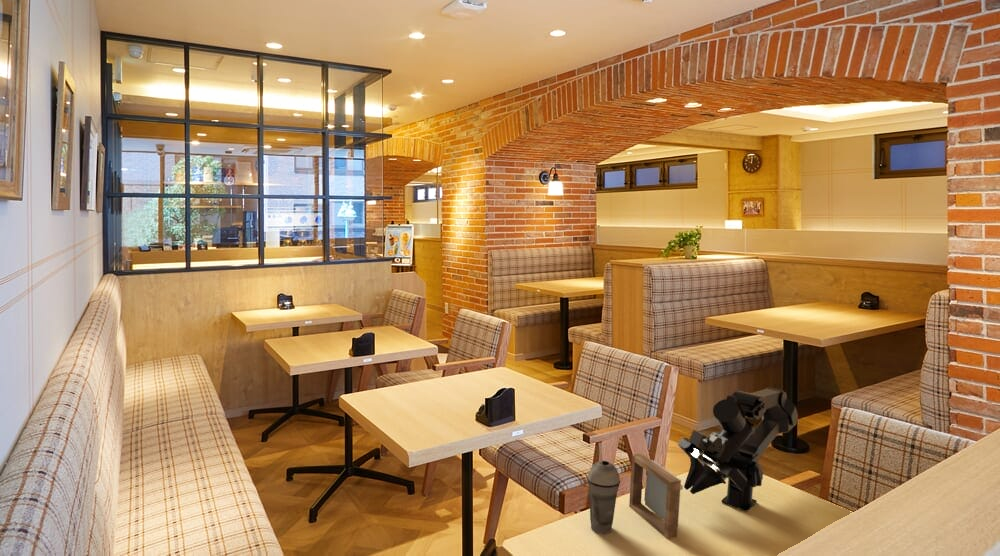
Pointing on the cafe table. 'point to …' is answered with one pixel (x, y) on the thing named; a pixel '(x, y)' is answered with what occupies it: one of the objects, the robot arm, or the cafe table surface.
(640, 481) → the cabinet frame
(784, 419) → the robot arm
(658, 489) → the cabinet door
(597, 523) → the beverage cup
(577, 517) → the cafe table surface
